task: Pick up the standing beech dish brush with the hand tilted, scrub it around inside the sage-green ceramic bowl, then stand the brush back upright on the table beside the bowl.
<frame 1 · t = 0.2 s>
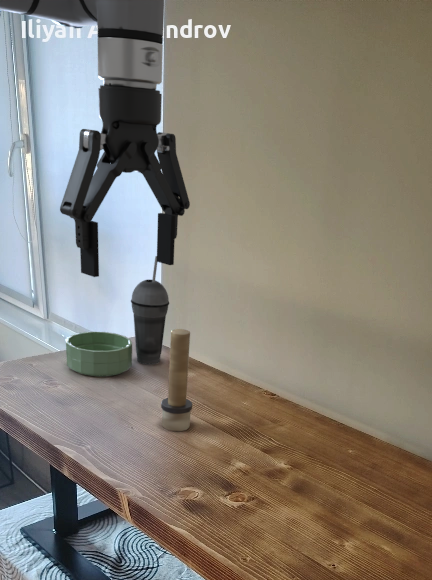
hand: (129, 268, 85), 24 cm above the table, tool pointing down, fingers open, 13 cm apart
brush: (175, 425, 98), on the table
beverage cup: (148, 361, 124), on the table
bowl: (99, 366, 119), on the table
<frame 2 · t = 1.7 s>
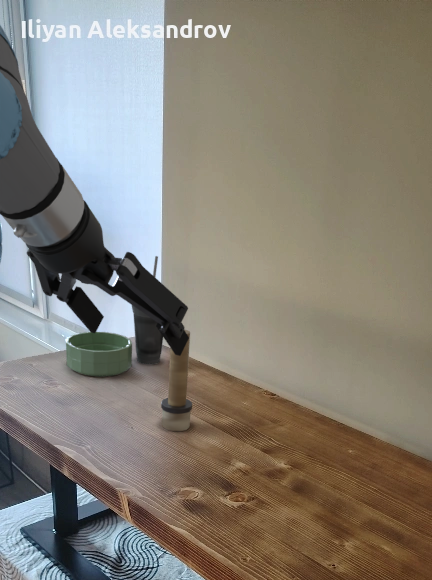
hand: (138, 335, 82), 17 cm above the table, tool tilted 45°, fingers open, 13 cm apart
nothing on the table moved.
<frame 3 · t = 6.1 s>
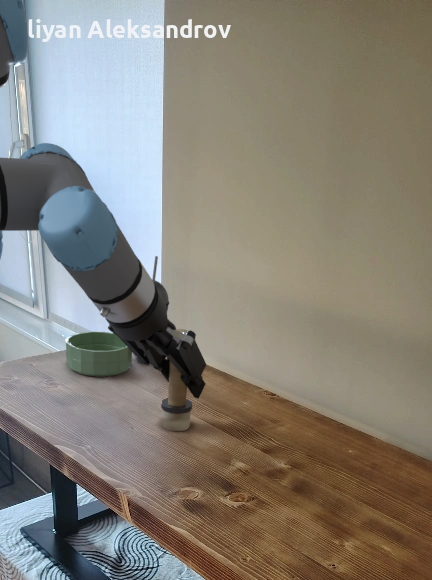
hand: (190, 387, 99), 5 cm above the table, tool tilted 45°, fingers closed on brush, 3 cm apart
brush: (175, 425, 98), on the table, touching gripper
everything else where it was.
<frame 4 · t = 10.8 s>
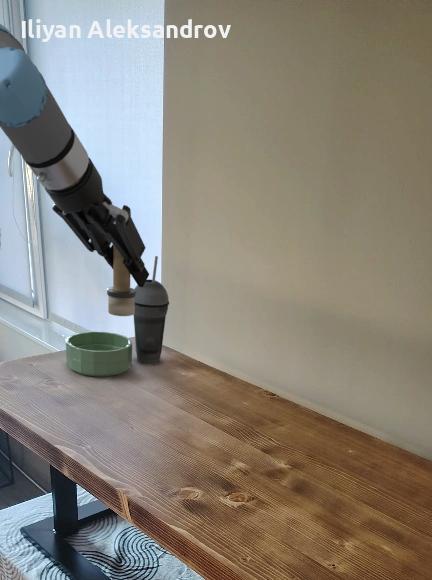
hand: (135, 278, 106), 18 cm above the table, tool tilted 45°, fingers closed on brush, 3 cm apart
brush: (121, 312, 106), point 13 cm above the table, touching gripper
everything else where it was.
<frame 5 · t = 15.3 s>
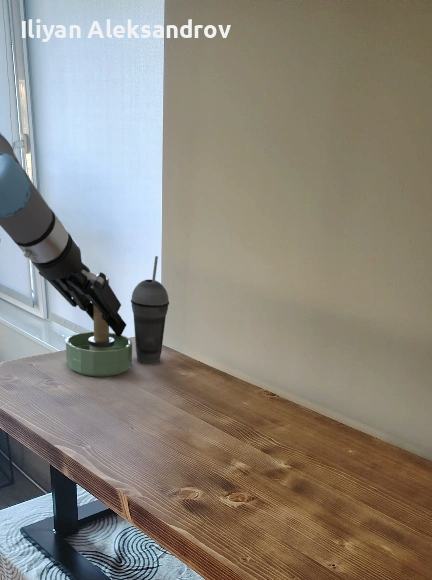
hand: (114, 328, 120), 6 cm above the table, tool tilted 45°, fingers closed on brush, 3 cm apart
brush: (101, 358, 119), point 1 cm above the table, touching gripper
everything else where it was.
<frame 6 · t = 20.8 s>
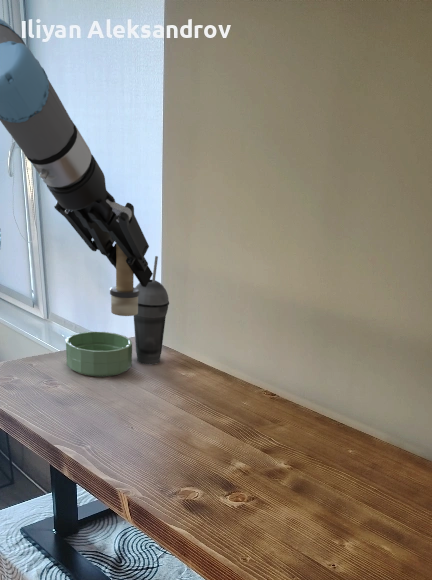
hand: (138, 278, 105), 18 cm above the table, tool tilted 45°, fingers closed on brush, 3 cm apart
brush: (124, 312, 104), point 13 cm above the table, touching gripper
everything else where it was.
when the fingers open (5 cm above the table, at t = 24.9 s): brush stays where it is, on the table.
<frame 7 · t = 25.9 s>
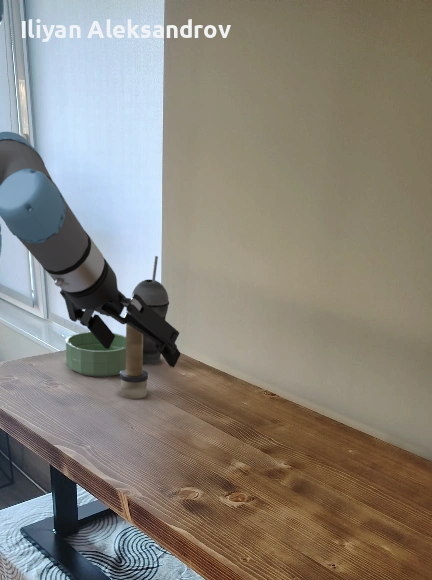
hand: (142, 351, 107), 7 cm above the table, tool tilted 45°, fingers open, 13 cm apart
brush: (133, 394, 108), on the table
everything else where it was.
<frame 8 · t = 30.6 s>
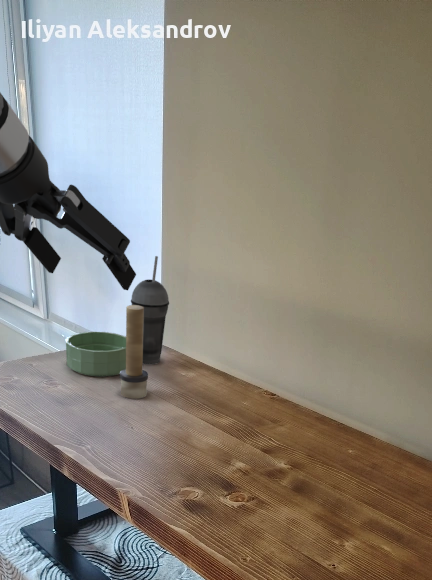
hand: (91, 273, 89), 22 cm above the table, tool tilted 45°, fingers open, 13 cm apart
nothing on the table moved.
at the end: brush 0.1 cm from the target spot on the table beside the bowl, on the table; brush tilted 0°; the gripper is holding nothing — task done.
